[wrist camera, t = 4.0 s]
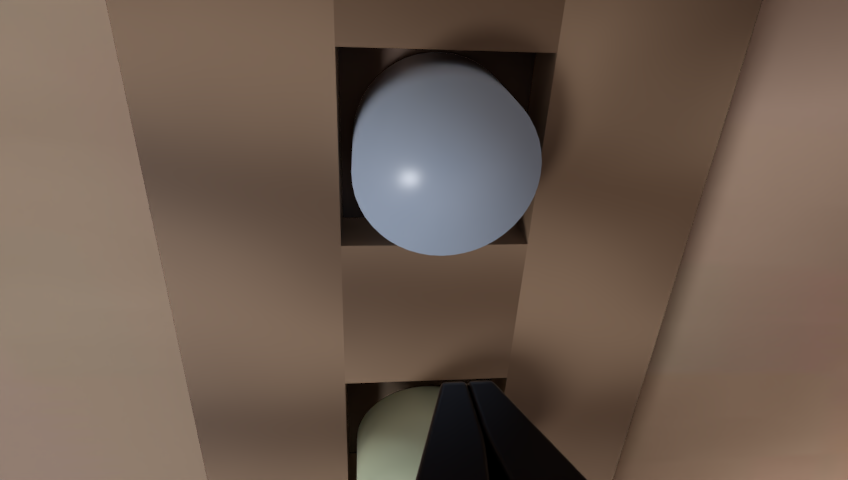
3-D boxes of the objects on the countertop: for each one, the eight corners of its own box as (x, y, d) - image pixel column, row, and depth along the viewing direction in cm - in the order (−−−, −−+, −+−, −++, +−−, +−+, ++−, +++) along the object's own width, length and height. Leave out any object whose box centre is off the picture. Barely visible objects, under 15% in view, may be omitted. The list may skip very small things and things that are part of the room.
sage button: (481, 475, 18) (497, 546, 16) (357, 482, 18) (357, 556, 16) (494, 383, 16) (514, 450, 14) (356, 388, 16) (355, 458, 14)
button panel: (552, 601, 25) (563, 638, 24) (253, 625, 24) (246, 666, 22) (722, -9, 13) (763, -2, 12) (129, -34, 12) (99, -29, 10)
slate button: (504, 209, 15) (527, 254, 13) (353, 209, 15) (352, 257, 12) (524, 54, 13) (555, 78, 11) (351, 49, 13) (349, 73, 11)
